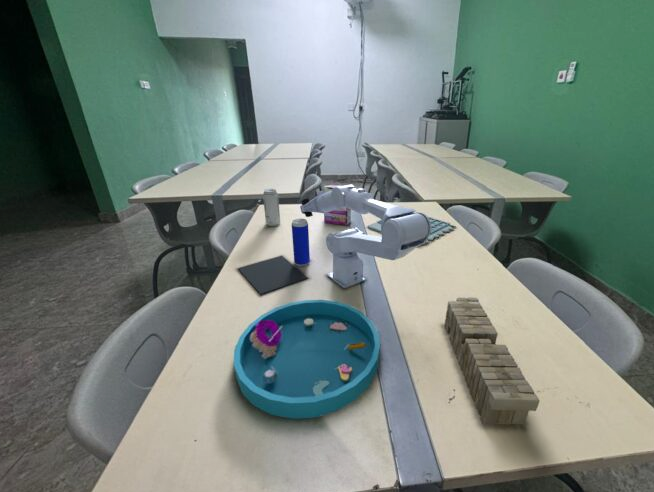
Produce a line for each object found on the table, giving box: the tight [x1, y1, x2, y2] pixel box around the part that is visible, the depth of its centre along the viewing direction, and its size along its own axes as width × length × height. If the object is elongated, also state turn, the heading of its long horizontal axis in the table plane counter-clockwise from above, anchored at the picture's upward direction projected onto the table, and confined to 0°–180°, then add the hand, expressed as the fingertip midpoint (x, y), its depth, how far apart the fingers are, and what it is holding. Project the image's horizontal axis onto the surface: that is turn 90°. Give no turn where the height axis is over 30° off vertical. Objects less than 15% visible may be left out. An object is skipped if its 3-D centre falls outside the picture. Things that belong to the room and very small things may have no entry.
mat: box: [237, 255, 309, 296], centre depth 99 cm, size 18×15×1 cm
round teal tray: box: [233, 299, 381, 420], centre depth 68 cm, size 30×30×6 cm
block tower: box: [443, 297, 540, 426], centre depth 66 cm, size 8×8×29 cm
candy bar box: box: [322, 184, 352, 227], centre depth 138 cm, size 11×5×16 cm, turn 73°
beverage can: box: [291, 218, 311, 267], centre depth 103 cm, size 5×5×15 cm
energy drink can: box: [262, 188, 281, 227], centre depth 134 cm, size 6×6×15 cm
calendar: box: [367, 212, 457, 248], centre depth 138 cm, size 27×29×2 cm
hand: (312, 207), depth 106 cm, fingers open, 7 cm apart
